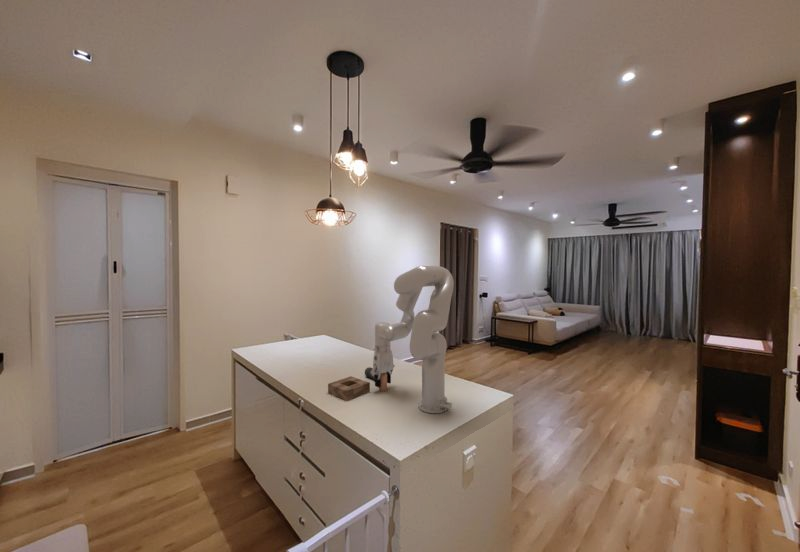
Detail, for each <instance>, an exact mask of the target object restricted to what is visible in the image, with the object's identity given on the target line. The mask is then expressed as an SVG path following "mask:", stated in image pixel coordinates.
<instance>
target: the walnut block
mask: <svg viewBox="0 0 800 552" xmlns="http://www.w3.org/2000/svg"><path fill="white" fill-rule="evenodd" d="M370 385H371V384H370V382H368V381H366V380H365V379H364V380H363V379H361V378H357V377H354V376H351V375H350V376H348V377H345V378H342V379H339V380H335V381H332V382H329V383H327V389H328V390H327V394H329V395H331V396H333V397H337V398H338V399H341V400H343V401H345V402H348V401H351V400H353V399H357V398H358V397H361V396H363V395H366V394H368V393H370V391H371V388H370V387H371V386H370Z"/></svg>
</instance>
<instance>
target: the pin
mask: <svg viewBox="0 0 800 552" xmlns="http://www.w3.org/2000/svg"><path fill="white" fill-rule="evenodd" d="M380 380H381V387H380V388H379V387H378V392H386V391H388V383H387V373H383V374H381V375H380Z"/></svg>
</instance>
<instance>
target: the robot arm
mask: <svg viewBox="0 0 800 552" xmlns="http://www.w3.org/2000/svg"><path fill="white" fill-rule="evenodd" d="M454 282H455V281H454V277H453V275H452V273H451V272H450V270H448V269H447V268H445V267H444V266H440V265H418V266H416V267H413V268H412V269H410V270H408V271H406V272H403V273H401V274H400V275H398V276H397V277H396V278H395V280H394V283H393V290H394V291H395V293H396V294H399V295H398V297H397V299H396V303H395V305H396V307H397V309H399V310H400V311H401V312H402V317H401V319H400V321H399V322H398V323H397V322H396V323H392V324H390V323H388V322H385V321H384V322H383V321H382V322H376V324H375V326H374V347H373V348H374V349H373V350H374V354H373V359H372V360H373V361H372V368H373V369H372V371H371V372H370V374H371V375H372V376H373V377H374V378H375V380H374V387H377V388H378V389H379V388H380V387H381V380H380V375H381V374H383V373H387V384H391V382H392V378H391V377H392V376H391V375H392V374H393V373H392V372H393V371H394V368H395V366H396V365H395V364H394V357H393V352H392V349H391V342H394V341H397V340H401V339H404V338H405V339H406V338H407V337H408V336H409V335H410V339H409V352H410V355H411V356H412V357H413V358H414V360H417V361H422V364H421V400H420V401H419V403H418V408H419V410H420V411H422V412H425V413H427V414H435V413H436V414H443V413H444V411H445V412H447V411H451V410H452V409H453V408H452V407H453V403H451V402H449V401H448V397H447V396H446V393H445V392H446V391H445V390H446V389H445V385H446V384H445V379H446V378H445V376H446V375H445V374H446V373H445V370H446V369H445V368H446V366H445V364H446V363H445V362H446V354H447V347H448V345H447V340H446V338H445V336H444V335H443V334H441V333H440V332H441V331H443V330H444V329H445V328H446V327H447V325H448V320H449V315H450V309H451V308H450V307H451V302H452V296H453V293H454ZM424 287H434V288H433V289H434V290H433V291H432V292H431V295H430V297H429V305H428V308H427V309H424V310H421V311H419V312H418V313H417V314H415V312H414V311H415V310H414V309H415V307H416V304H417V302H418V299H419V297H420V295H421V293H422V290H423V288H424ZM410 333H411V334H410ZM377 373H378V376H377ZM447 409H448V410H447ZM446 410H447V411H446Z"/></svg>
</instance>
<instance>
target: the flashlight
mask: <svg viewBox="0 0 800 552" xmlns="http://www.w3.org/2000/svg"><path fill="white" fill-rule="evenodd" d="M372 369H373V367H370V366H369V367H366V368H365V370H364V375H365V376H366V377H367V378H369V379H373V380H374V381H375V378H374V377H373V376H372V375H371V374H370V372H371V371H372ZM377 376H378V373H377Z"/></svg>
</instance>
